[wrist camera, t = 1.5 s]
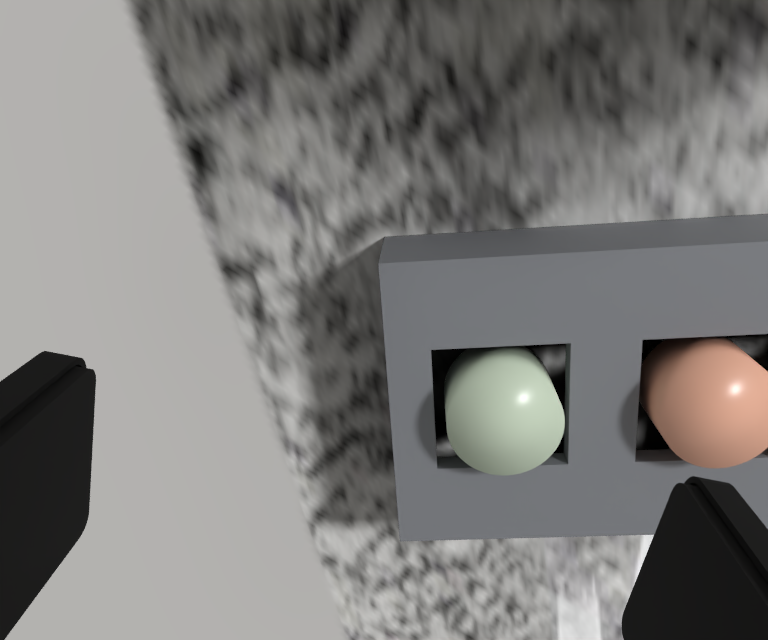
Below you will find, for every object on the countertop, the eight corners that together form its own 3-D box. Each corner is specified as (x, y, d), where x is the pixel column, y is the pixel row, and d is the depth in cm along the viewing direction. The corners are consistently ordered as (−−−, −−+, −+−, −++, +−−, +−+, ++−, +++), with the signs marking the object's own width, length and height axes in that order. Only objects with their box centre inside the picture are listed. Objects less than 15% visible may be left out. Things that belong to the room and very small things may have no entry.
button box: (994, 200, 31) (1098, 222, 26) (932, 465, 35) (1011, 524, 31) (384, 237, 33) (378, 263, 28) (402, 483, 37) (399, 541, 33)
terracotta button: (753, 327, 30) (793, 358, 27) (741, 426, 32) (778, 466, 29) (639, 333, 31) (666, 364, 27) (633, 430, 32) (657, 470, 29)
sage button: (550, 337, 31) (565, 368, 28) (549, 433, 32) (563, 473, 29) (441, 342, 31) (444, 374, 28) (446, 437, 33) (448, 477, 30)
